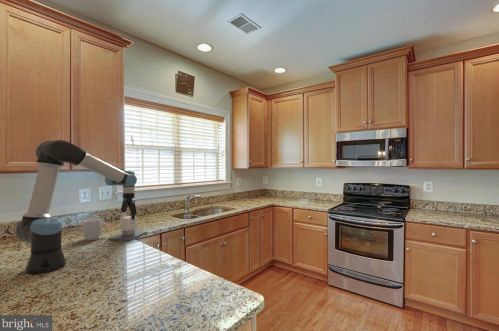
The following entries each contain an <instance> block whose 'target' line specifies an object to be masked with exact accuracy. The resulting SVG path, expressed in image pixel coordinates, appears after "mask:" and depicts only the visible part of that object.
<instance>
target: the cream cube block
mask: <svg viewBox="0 0 499 331" xmlns="http://www.w3.org/2000/svg"><path fill="white" fill-rule="evenodd" d="M130 217H131V215H127V216H125V217H122V216H120V217H119V229H120V230H121V231H122V230H123V231H129V230H134V229H135V230H138V216H135V224H130Z"/></svg>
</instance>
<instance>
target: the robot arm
mask: <svg viewBox="0 0 499 331" xmlns="http://www.w3.org/2000/svg"><path fill="white" fill-rule="evenodd" d="M35 156H36V157H37V159H36V162H35V163H36V164H37V166H38V170H37V174H36V176H35V182H34V186H33V189H32V193H31V199H30V201H29V206H28V208H27V209H28V210H27V212H26V213H24V214H22V218H21V221H19V223H18V224H16V227H15V232H14V233H15V235H16V237H17V238H18V239H19V240H20V241H22V242H25V243H28V244H30V255H29V257H28V258H29V259H28V261H27V264H26V265H25V273H26V274H29V275H38V274H40V275H41V274H45V273H46V274H47V273H50V272H54V271H56V270H57V271H58V270H60V269H61V268H63V267H65V266H66V264H67V263H66V262H67V261H66V257H65V255H64V252H63V250H62V231H63V230H62V228H63V225H62V221H61V220H60V219H59V218H54V217H52V215H51V214H50V210H51V204H52V201H53V196H54V192H55V189H56V188H55V187H56V184H57V180H58V175H59V172H60V171H59V170H60V169H62V168H64V164H65V163H68V164H70V165H73V166H76V167H77V166H80V167H83V168H85V169H88V170H89V171H92V172H93V173H96V174H98V175H101V176H103V177H104V182H105V185H107V186H122V204H121V207H120V211H121V217H125V216H128V214H127V212H128V211H127V210H128V209H129V212H130V214H129V216H131V217H130V224H135V217H136V215H137V214H138V213H137V212H138V211H137V208H136V207H137V206H136V200H134V198H135V196H136V195H135V191H136V190H135V189H136V183H137V181H138V179H137V177H136V172H135V170H134V171H133V170H124V171H123V170H121V169H119V168H117V167H115V166H113V165H111V164H109V163H108V162H106V161H103V160H101V159H100V158H98V157H95V156H93V155H92V154H89V153H87V150H86V149H84V148H82V147H80V146H78V145H76V144H74V143H72V142H69V141H67V140H64V139H56V140H46V141H42V142H41V143H40V144H38V145H37V146H36V148H35Z"/></svg>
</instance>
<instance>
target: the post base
mask: <svg viewBox="0 0 499 331" xmlns="http://www.w3.org/2000/svg"><path fill="white" fill-rule="evenodd" d="M121 231H122V232H121V233H117V234H116V235H113V236H109V237H108V238H107V239H108V241H109V240H110V241H116V242H117V241H121V242H131V241H134V240H135V239H137V238H140V237H142V236H144V235H147V234H148V231H146V230H145V231H144V230H136V229H134V230H129V231H123V230H121Z"/></svg>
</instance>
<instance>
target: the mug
mask: <svg viewBox="0 0 499 331" xmlns="http://www.w3.org/2000/svg"><path fill="white" fill-rule="evenodd" d="M102 220H103V219H102V218H87V219H84V220H82V234H83V237H84V239H85V240H86V241H90V242H91V241H96V240H98V239H99V238H100V236H103V235H104V234H106V233H107V232H108V231H109V225H108V223H106V222H103V221H102ZM103 225H105V226H106V229H105V231H104V232H102V229H103Z"/></svg>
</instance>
